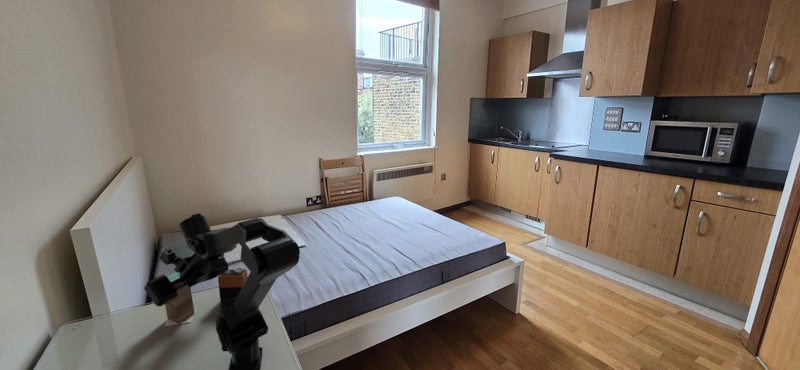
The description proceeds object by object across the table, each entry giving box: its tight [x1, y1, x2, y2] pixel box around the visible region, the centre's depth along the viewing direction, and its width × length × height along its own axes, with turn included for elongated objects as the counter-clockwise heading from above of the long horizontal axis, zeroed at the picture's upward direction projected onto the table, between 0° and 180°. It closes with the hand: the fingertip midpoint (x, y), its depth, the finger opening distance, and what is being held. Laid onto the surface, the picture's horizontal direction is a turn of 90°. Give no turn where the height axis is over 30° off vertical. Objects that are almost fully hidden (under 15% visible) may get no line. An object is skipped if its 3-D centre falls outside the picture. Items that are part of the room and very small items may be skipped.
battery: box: [217, 267, 249, 305], centre depth 96 cm, size 4×7×10 cm, turn 98°
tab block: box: [164, 271, 196, 325], centre depth 87 cm, size 4×4×12 cm
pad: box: [163, 308, 198, 327], centre depth 88 cm, size 6×6×1 cm
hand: (177, 291), depth 86 cm, fingers open, 9 cm apart
